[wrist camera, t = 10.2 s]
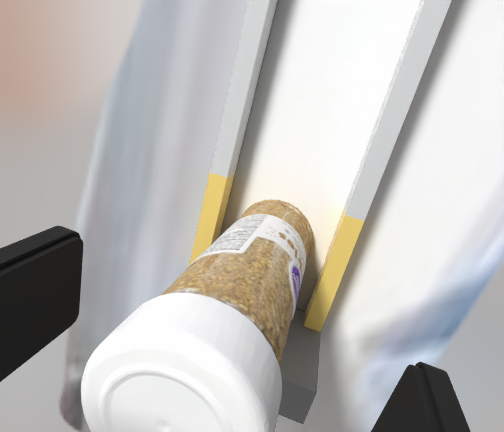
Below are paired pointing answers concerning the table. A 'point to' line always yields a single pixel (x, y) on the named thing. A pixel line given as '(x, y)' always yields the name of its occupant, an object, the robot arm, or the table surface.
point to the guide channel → (360, 198)
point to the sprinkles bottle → (207, 337)
